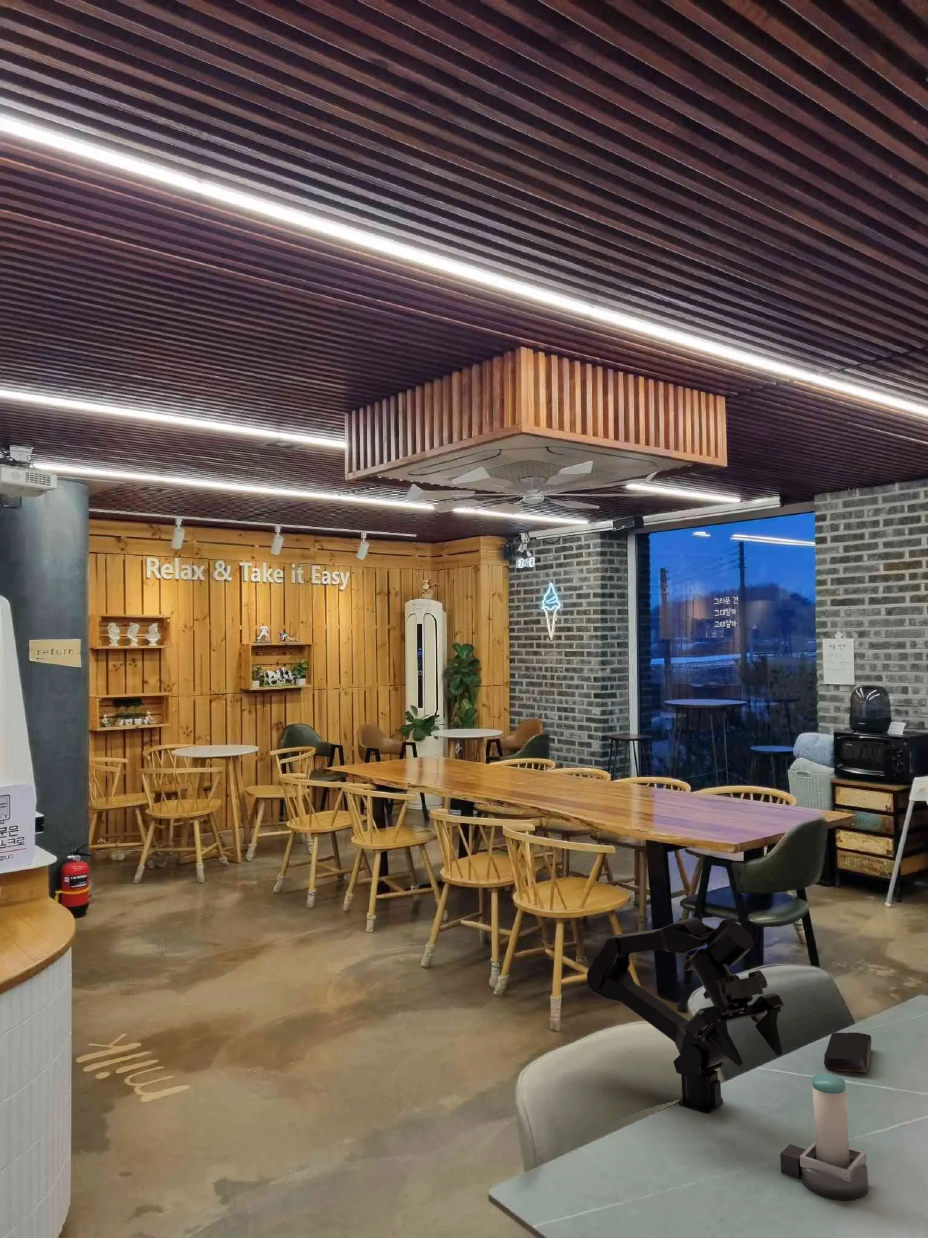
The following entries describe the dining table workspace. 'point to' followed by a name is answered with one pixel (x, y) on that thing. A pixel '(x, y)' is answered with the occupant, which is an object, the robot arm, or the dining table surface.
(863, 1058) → the black sponge
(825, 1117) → the beige teal capped bottle
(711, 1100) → the robot arm
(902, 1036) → the dining table surface
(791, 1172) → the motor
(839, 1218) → the dining table surface
